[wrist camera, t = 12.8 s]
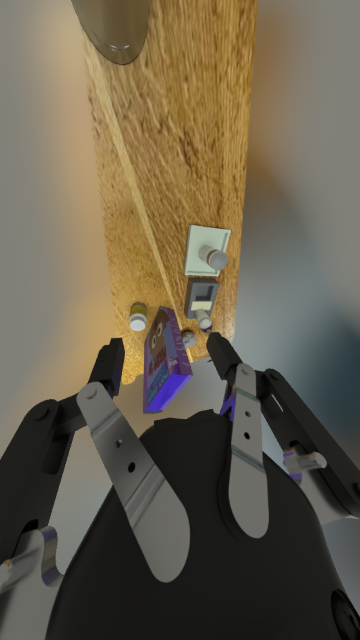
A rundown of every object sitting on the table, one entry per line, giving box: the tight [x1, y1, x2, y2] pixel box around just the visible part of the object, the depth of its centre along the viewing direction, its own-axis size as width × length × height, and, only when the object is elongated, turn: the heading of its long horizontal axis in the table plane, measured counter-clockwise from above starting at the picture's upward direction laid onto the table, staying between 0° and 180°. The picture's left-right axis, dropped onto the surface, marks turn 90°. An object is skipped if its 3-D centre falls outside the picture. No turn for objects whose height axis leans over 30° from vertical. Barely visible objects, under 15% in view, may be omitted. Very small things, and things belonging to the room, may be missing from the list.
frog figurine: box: [182, 332, 197, 349], centre depth 49 cm, size 6×7×7 cm
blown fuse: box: [199, 245, 228, 271], centre depth 31 cm, size 4×4×8 cm
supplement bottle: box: [129, 303, 147, 331], centre depth 38 cm, size 5×5×8 cm
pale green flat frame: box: [183, 225, 231, 276], centre depth 34 cm, size 11×10×2 cm
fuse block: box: [184, 278, 220, 329], centre depth 39 cm, size 12×8×10 cm, turn 174°
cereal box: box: [143, 306, 193, 414], centre depth 38 cm, size 17×5×24 cm, turn 154°
